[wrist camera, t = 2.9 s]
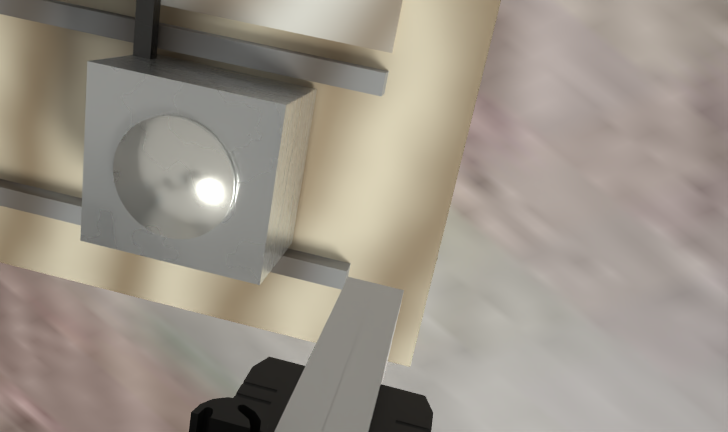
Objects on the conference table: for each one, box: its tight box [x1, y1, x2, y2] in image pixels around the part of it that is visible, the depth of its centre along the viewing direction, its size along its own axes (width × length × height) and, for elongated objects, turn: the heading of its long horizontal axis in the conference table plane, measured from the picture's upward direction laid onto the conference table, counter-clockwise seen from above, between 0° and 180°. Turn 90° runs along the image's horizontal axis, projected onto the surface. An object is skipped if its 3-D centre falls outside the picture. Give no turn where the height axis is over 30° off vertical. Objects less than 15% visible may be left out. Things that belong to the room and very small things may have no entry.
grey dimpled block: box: [80, 0, 317, 285], centre depth 27 cm, size 8×13×5 cm, turn 169°
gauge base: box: [0, 0, 501, 367], centre depth 28 cm, size 30×18×9 cm, turn 79°
